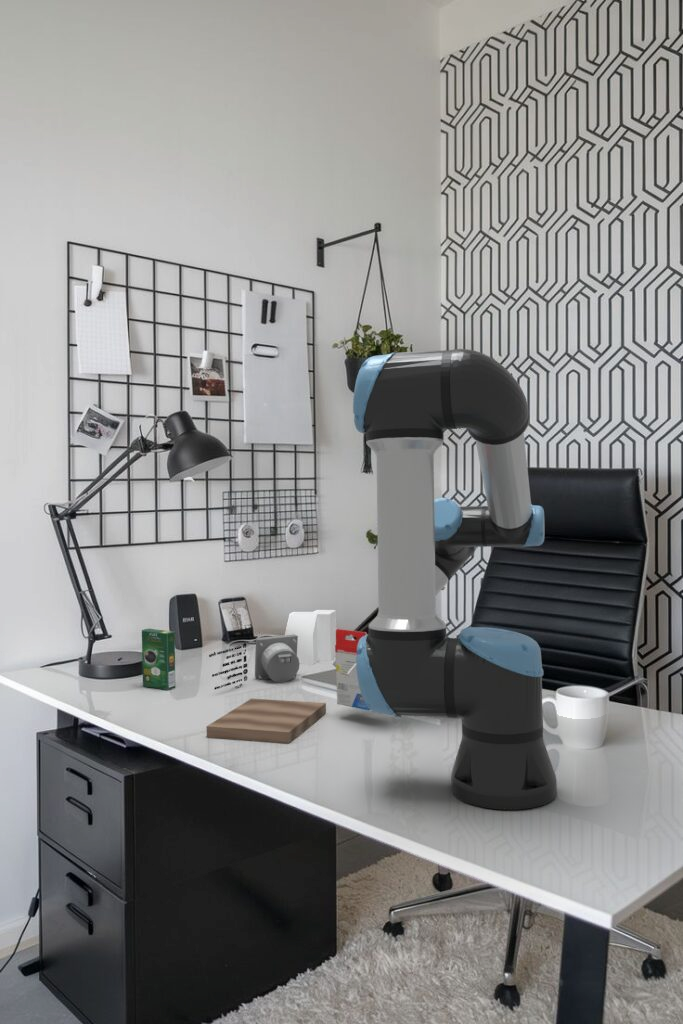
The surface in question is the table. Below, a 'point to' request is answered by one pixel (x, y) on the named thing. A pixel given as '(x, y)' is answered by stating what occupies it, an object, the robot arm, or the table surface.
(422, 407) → the robot arm
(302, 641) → the corner bracket
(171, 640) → the coffee box
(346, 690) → the ink box
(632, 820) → the table surface
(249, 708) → the walnut plate
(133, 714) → the table surface
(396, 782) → the table surface
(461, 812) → the table surface
